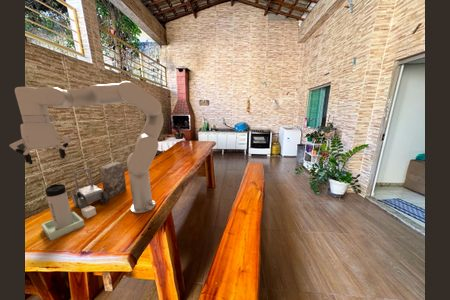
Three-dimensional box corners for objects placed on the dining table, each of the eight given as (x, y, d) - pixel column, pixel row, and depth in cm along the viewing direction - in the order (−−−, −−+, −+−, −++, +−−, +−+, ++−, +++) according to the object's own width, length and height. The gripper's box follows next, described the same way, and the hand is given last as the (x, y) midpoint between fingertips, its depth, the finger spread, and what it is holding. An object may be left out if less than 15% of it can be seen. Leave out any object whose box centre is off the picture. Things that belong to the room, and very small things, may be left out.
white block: (96, 214, 89) (95, 207, 88) (87, 218, 85) (85, 211, 84) (91, 211, 91) (90, 205, 90) (82, 215, 87) (81, 209, 87)
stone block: (113, 198, 105) (107, 167, 100) (103, 197, 106) (97, 167, 101) (128, 189, 117) (124, 161, 113) (119, 188, 118) (114, 161, 114)
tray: (84, 225, 80) (83, 219, 79) (50, 241, 70) (48, 234, 70) (75, 216, 87) (73, 211, 86) (42, 229, 77) (41, 224, 76)
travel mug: (71, 220, 83) (62, 182, 78) (75, 225, 79) (66, 185, 74) (54, 226, 78) (43, 186, 74) (56, 233, 74) (45, 190, 70)
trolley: (110, 203, 98) (104, 171, 94) (85, 214, 89) (77, 178, 84) (97, 196, 107) (91, 166, 103) (73, 204, 98) (66, 172, 93)
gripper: (62, 118, 77) (70, 155, 80) (0, 120, 63) (14, 164, 66) (68, 119, 73) (76, 157, 77) (3, 121, 59) (17, 168, 62)
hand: (47, 160), depth 71 cm, fingers open, 9 cm apart
